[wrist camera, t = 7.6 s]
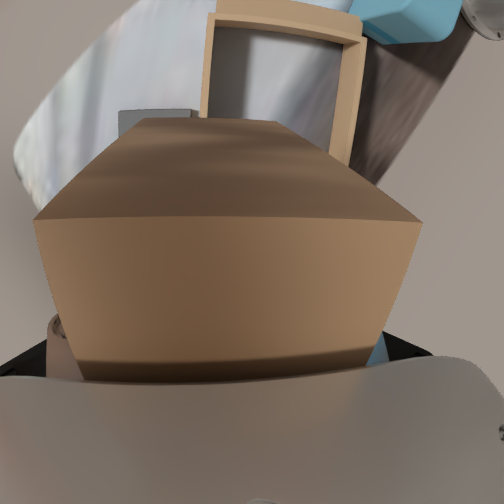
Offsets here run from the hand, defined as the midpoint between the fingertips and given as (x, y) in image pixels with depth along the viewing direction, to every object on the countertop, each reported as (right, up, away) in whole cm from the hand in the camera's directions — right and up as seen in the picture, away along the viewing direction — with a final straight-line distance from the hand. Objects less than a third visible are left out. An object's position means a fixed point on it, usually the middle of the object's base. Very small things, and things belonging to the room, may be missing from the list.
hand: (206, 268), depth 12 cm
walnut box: (0, +1, +2) cm, 2 cm away
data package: (+15, +28, +12) cm, 34 cm away
